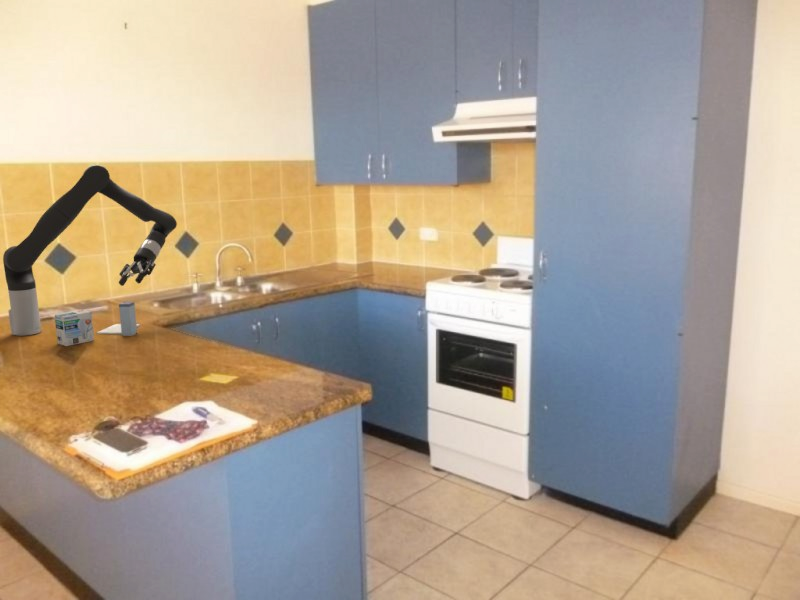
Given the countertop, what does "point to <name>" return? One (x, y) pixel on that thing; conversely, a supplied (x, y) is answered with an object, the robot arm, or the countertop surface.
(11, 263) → the robot arm
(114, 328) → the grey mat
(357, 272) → the countertop surface
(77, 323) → the light bulb box
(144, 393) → the countertop surface
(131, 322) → the blue post
